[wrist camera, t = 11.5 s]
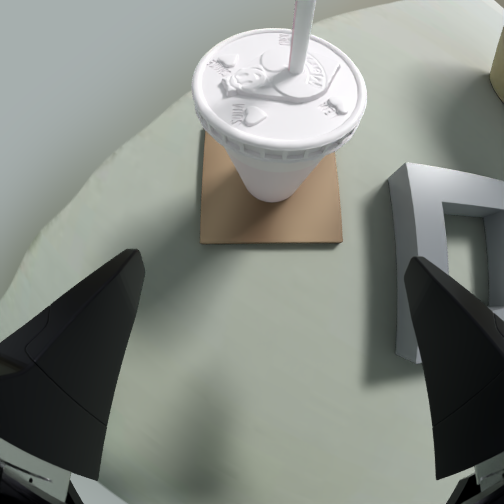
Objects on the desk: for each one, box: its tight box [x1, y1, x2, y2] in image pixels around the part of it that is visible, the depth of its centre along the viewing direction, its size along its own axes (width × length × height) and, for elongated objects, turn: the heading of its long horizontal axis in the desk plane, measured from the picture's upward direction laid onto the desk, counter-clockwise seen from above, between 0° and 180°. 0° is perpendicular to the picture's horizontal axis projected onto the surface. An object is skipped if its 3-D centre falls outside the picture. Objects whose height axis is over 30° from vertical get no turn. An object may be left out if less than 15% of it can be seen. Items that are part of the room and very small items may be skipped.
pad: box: [200, 131, 343, 244], centre depth 18 cm, size 9×9×1 cm
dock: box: [388, 162, 504, 364], centre depth 16 cm, size 13×13×3 cm
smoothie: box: [192, 0, 367, 202], centre depth 11 cm, size 6×6×14 cm
